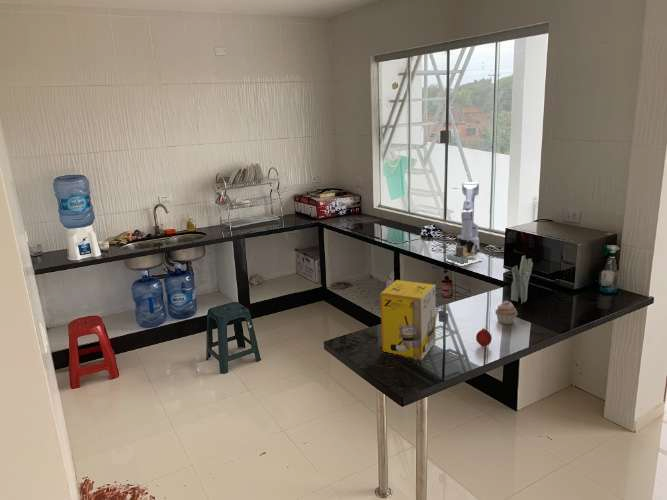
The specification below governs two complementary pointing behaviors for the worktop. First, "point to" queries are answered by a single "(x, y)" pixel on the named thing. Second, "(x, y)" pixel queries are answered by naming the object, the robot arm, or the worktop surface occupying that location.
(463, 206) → the robot arm
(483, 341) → the onion
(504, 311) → the cupcake
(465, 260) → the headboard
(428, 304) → the packaging box
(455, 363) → the worktop surface
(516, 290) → the pale green stalk cluster
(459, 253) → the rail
